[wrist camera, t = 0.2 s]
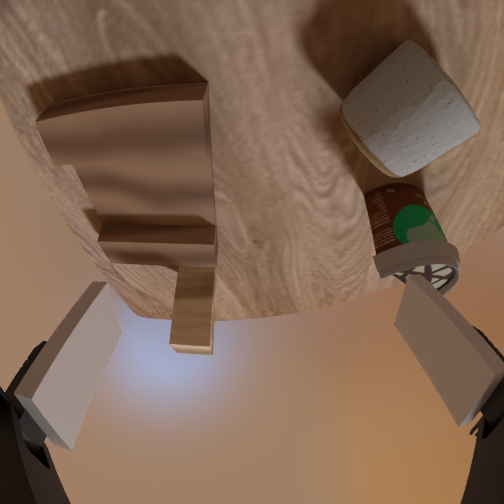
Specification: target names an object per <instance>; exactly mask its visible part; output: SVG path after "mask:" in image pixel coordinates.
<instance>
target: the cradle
mask: <svg viewBox="0 0 504 504" xmlns="http://www.w3.org/2000/svg"><path fill="white" fill-rule="evenodd" d="M35 123H36V126H37V128H38V131H39V133H40V135H41V137H42V140H43V142H44V144H45V146H46V148H47V151H48V153H49V155H50V157H51V159H52V161H53V163H54V165H55V166H59V165H67V164H73V165H74V167H75V169H76V172H77V174H78V176H79V178H80V180H81V182H82V184H83V186H84V188H85V190H86V192H87V194H88V196H89V198H90V200H91V202H92V204H93V206H94V208H95V210H96V212H97V214H98V216H99V218H100V220H101V222H102V223H103V226H102V229H101V232H100V235H99V238H98V241H97V242H98V243H99V245H100V247H101V248H102V250H103V251H104V253H105V254H106V256H107V257H108V259H109V260H110V262H111V263H120V264H140V265H162V266H186V267H212V268H216V267H217V254H218V240H217V227H216V214H215V200H214V185H213V169H212V152H211V133H210V111H209V85H208V82H198V83H176V84H162V85H151V86H141V87H133V88H125V89H118V90H111V91H105V92H99V93H94V94H89V95H84V96H79V97H74V98H70V99H65V100H61V101H57V102H53V103H51V105H50V106H49V107H48V108H47V109H46V110H45V111H44V112H43V114H42V115H41V116H40V117H39V118H38V119H37V121H36V122H35Z"/></svg>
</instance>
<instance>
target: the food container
mask: <svg viewBox="0 0 504 504" xmlns="http://www.w3.org/2000/svg"><path fill="white" fill-rule="evenodd" d="M364 198H365V203H366V207H367V211H368V216H369V220H370V225H371V230H372V235H373V240H374V245H375V251H376V255H375V256H373V259H374V262H375V265H376V268H377V271H378V272H379V274H380V278H381V279H383V278H385V277H388V276H390V275H393V276H395V277H397V278H398V279H399V280H401V281H402V282H403V283H405V284H406V281H407V277H408V275H418V274H421V275H422V276H423V277H424V278H425V279H426V280H427V281H428V282H429V283H430V284H432V285H433V286H434V287H435V288H436V289H437V290H438V291H439V292H440V293H441V294H442V295H444V294H446V293H447V292H449V291H450V290H451V289H452V288H453V287H454V286H455V285H456V284H457V282H458V280H459V277H460V259H459V253H458V250H457V248H456V247H455V246H454V245H452V244H450V243H448V242H447V240H446V237H445V235H444V233H443V231H442V229H441V227H440V225H439V223H438V221H437V219H436V217H435V215H434V213H433V211H432V209H431V207H430V205H429V203H428V201H427V199H426V197H425V196H424V194H423V192H422V191H421V190H420V189H419V188H417V187H415V186H413V185H410V184H404V183H395V184H388V185H385V186H381V187H379V188H376V189H374V190H372V191H370V192H368V193H367V194H365V195H364Z"/></svg>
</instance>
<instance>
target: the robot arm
mask: <svg viewBox="0 0 504 504" xmlns="http://www.w3.org/2000/svg"><path fill="white" fill-rule="evenodd" d="M395 326H396V328H397V329H398V331H399V332H400V334H401V335H402V337H403V338H404V340H405V341H406V342H407V344H408V346H409V347H410V349H411V350H412V352H413V353H414V355H415V356H416V358H417V359H418V361H419V362H420V364H421V365H422V367H423V369H424V370H425V372H426V373H427V375H428V376H429V378H430V380H431V381H432V383H433V385H434V386H435V388H436V390H437V391H438V393H439V394H440V396H441V398H442V400H443V401H444V403H445V405H446V406H447V408H448V410H449V412H450V413H451V415H452V417H453V419H454V420H455V422H456V424H457V426H458V427H460V426H462V425H464V424H466V423H468V422H471V421H472V420H473V419H474V418H475V416H476V415H477V414H478V413H479V411H481V412H482V414H483V416H482V417H481V418H480V420H479V421H478V422H477V424H476V425H475V426H474V427H473V428H472V429H471V431H470V435H472V434H473V432H474V431H475V430H476V429H477V428H478V432H477V433H476V434H475V436H477V439H476V444H475V450H474V455H473V459H472V464H471V469H470V473H469V477H468V480H467V484H466V488H465V491H464V495H463V498H462V501H461V504H504V356H503V355H502V354H501V353H500V352H499V351H498V349H497V348H496V347H494V345H493V344H492V343H491V342H490V341H489V340H488V338H487V337H486V336H485V335H484V334H483V333H482V332H481V331H480V330H478V329H477V328H475V327H474V326H472V325H471V324H470V323H469V322H468V321H467V320H466V319H465V318H464V317H463V316H462V315H461V314H460V313H459V312H458V311H457V310H456V308H455V307H454V306H453V305H451V303H450V302H448V300H446V298H445V297H444V296H443V295H442V294H441V293H440V292H439V291H438V290H437V289H436V288H435V287H434V286H433V285H432V284H430V283H429V282H428V281H427V280H426V279H425V278H424V277H423V276H422V275H421V274H418V275H408V277H407V281H406V285H405V289H404V293H403V296H402V300H401V304H400V307H399V311H398V314H397V317H396V321H395ZM121 334H122V333H121V329H120V326H119V323H118V319H117V316H116V312H115V308H114V304H113V301H112V297H111V293H110V289H109V285H108V282H92V283H91V285H90V286H89V287H88V288H87V289H86V291H85V292H84V293H83V294H82V296H81V297H80V299H79V300H78V301H77V302H76V303H75V305H74V306H73V307H72V309H71V310H70V311H69V313H68V314H67V315H66V317H65V318H64V319H63V320H62V322H61V323H60V325H59V326H58V327H57V329H56V330H55V331H54V333H53V334H52V336H51V337H50V338H49V340H48V341H43V342H42V343H40V344H39V345H38V346H37V347H35V348H34V349H33V351H32V352H31V354H30V355H29V356H28V360H26V361H25V362H24V364H23V367H21V368H20V370H19V371H18V373H17V374H16V376H15V377H14V379H13V380H12V382H11V384H10V386H9V387H8V389H7V390H6V392H5V393H4V391H3V390H2V388H1V387H0V504H70V501H69V499H68V497H67V495H66V493H65V491H64V488H63V486H62V484H61V481H60V479H59V477H58V474H57V472H56V470H55V467H54V464H53V462H52V459H51V456H50V453H49V450H48V448H47V446H46V444H45V443H44V440H45V438H46V436H47V437H48V438H49V439H50V440H51V441H52V443H53V444H54V445H56V446H59V447H62V448H65V449H69V450H72V449H73V446H74V444H75V441H76V438H77V436H78V433H79V430H80V427H81V425H82V422H83V420H84V417H85V414H86V412H87V410H88V407H89V405H90V402H91V400H92V398H93V395H94V393H95V391H96V388H97V386H98V384H99V381H100V379H101V377H102V374H103V372H104V370H105V368H106V365H107V363H108V361H109V359H110V356H111V355H112V352H113V350H114V348H115V346H116V344H117V342H118V340H119V337H120V336H121Z"/></svg>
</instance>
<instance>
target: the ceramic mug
mask: <svg viewBox="0 0 504 504" xmlns="http://www.w3.org/2000/svg"><path fill="white" fill-rule="evenodd" d="M340 116H341V120H342V123H343V125H344V127H345V129H346V131H347V133H348V134H349V136H350V137H351V139H352V140H353V142H354V143H355V144H356V146H357V147H358V148H359V149H360V151H361V152H362V153H363V154H364V155H365V156H366V157H367V159H368V160H369V161H370V162H371V163H372V164H373V165H374V166H376V167H377V168H378V169H379V170H381V171H382V172H383V173H385V174H387V175H388V176H391V177H394V178H400V177H403V176H406V175H408V174H411V173H413V172H415V171H417V170H419V169H421V168H422V167H424V166H425V165H427V164H428V163H430V162H431V161H433V160H434V159H435V158H437V157H438V156H440V155H442V154H443V153H445V152H447V151H448V150H450V149H451V148H453V147H455V146H456V145H458V144H460V143H461V142H463V141H464V140H466V139H468V138H469V137H471V136H472V135H474V134H476V133H477V132H478V131H479V130H480V129H481V127H480V123H479V120H478V118H477V117H476V115H475V113H474V111H473V110H472V108H471V106H470V105H469V103H468V102H467V100H466V99H465V97H464V96H463V94H462V93H461V91H460V90H459V88H458V87H457V86H456V84H455V83H454V82H453V80H452V79H451V78H450V77H449V76H448V75H447V74H446V73H445V72H444V71H443V69H442V68H441V67H440V66H439V64H438V63H437V62H436V61H435V60H434V59H433V58H432V57H431V56H430V55H429V54H428V53H427V52H426V51H425V50H423V49H422V48H421V47H420V46H419V45H418V44H416V43H415V42H414V41H412V40H410V39H407V40H405V41H404V42H403V43H402V44H401V45H400V46H399V47H398V48H397V49H396V50H394V51H393V52H392V53H391V54H390V55H389V56H388V57H387V58H386V59H385V60H384V61H382V62H381V63H380V64H379V65H378V66H377V67H376V68H375V69H374V70H373V71H372V72H371V73H370V74H369V75H368V76H367V77H366V78H365V79H363V80H362V81H361V82H360V83H359V84H358V85H357V86H356V87H355V88H354V89H353V90H352V91H351V92H350V93H349V94H348V96H347V97H346V98H345V100H344V101H343V103H342V104H341V107H340Z"/></svg>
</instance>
